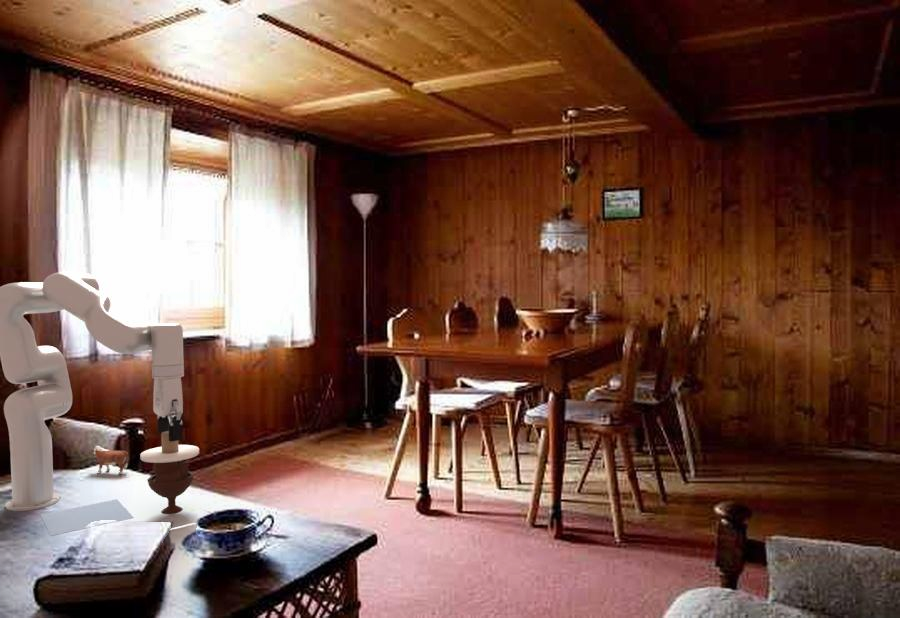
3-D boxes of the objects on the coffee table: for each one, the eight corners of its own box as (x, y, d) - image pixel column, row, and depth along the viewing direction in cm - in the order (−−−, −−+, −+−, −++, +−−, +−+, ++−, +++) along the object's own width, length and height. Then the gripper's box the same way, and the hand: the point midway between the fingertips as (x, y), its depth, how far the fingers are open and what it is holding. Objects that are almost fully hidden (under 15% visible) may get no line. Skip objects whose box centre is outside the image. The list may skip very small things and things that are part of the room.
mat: (40, 516, 167) (39, 514, 167) (116, 501, 179) (116, 499, 179) (51, 537, 153) (50, 535, 153) (133, 519, 165) (133, 517, 165)
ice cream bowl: (178, 521, 163) (177, 462, 163) (139, 518, 166) (137, 459, 165) (203, 506, 174) (201, 451, 173) (165, 504, 176) (164, 449, 175)
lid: (134, 454, 170) (133, 431, 170) (189, 445, 179) (188, 424, 179) (149, 466, 159) (148, 441, 159) (207, 456, 168) (206, 432, 168)
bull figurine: (98, 469, 210) (97, 443, 209) (132, 472, 206) (131, 446, 205) (87, 472, 205) (86, 447, 205) (121, 476, 202) (120, 450, 201)
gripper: (143, 369, 172) (145, 433, 173) (162, 376, 159) (164, 445, 160) (173, 366, 177) (174, 429, 178) (194, 373, 164) (195, 440, 164)
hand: (169, 436), depth 169 cm, fingers open, 9 cm apart
